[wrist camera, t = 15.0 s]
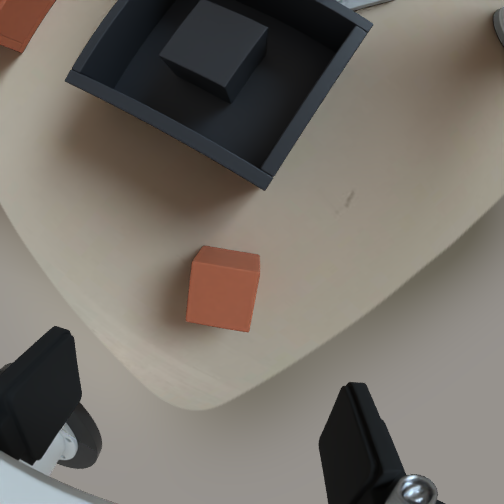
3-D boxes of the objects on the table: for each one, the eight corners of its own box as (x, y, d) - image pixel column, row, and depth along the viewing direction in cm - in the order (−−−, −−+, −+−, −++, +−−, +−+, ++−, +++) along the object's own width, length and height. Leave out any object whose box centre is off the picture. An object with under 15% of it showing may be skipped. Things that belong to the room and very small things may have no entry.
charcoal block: (231, 104, 19) (224, 88, 15) (176, 76, 19) (157, 55, 14) (266, 53, 18) (268, 27, 14) (211, 27, 18) (201, -3, 14)
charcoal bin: (262, 186, 21) (264, 191, 16) (103, 97, 20) (64, 81, 14) (348, 54, 19) (374, 23, 13) (189, -22, 17) (173, -62, 12)
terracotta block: (250, 306, 23) (248, 333, 19) (196, 297, 23) (185, 321, 19) (259, 254, 22) (260, 272, 18) (202, 245, 22) (191, 260, 18)
